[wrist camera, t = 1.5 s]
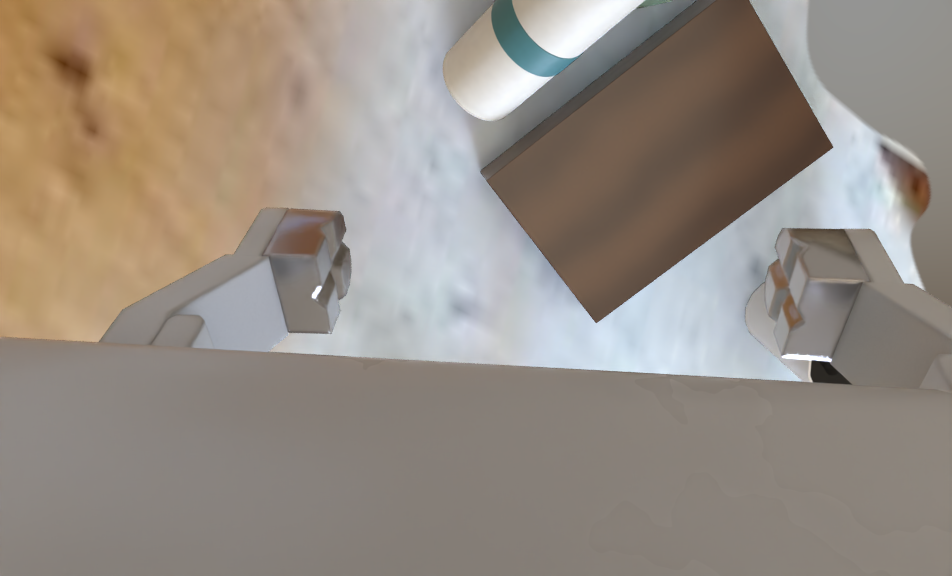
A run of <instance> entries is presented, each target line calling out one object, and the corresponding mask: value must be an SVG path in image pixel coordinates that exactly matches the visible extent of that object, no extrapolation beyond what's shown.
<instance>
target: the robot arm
mask: <svg viewBox="0 0 952 576" xmlns="http://www.w3.org/2000/svg"><path fill="white" fill-rule="evenodd" d="M345 232H346V227H345V222H344V217H343V215H342V213H341V212H340V211H328V210H310V209H293V208H291V209H289V208H267V207H266V208H263V209H261V210H260V212H259V213H258V215H257V217H256V218H255V220H254V222H253V223H252V225H251V226H250V228H249V230H248V231H247V233H246V235H245V236H244V238H243V240H242V241H241V243H240V244H239V246H238V248H237V249H236V251H235V253H234V254H233V255H224V256H222V257H220V258H218V259H217V260H215V261H213V262H211V263H209V264H207V265H205V266H203V267H202V268H200V269H198V270H196V271H194V272H192V273H190V274H188V275H187V276H185V277H183V278H181V279H179V280H177V281H175V282H173V283H172V284H170V285H168V286H166V287H164V288H162V289H160V290H158V291H156V292H155V293H153V294H151V295H149V296H147V297H145V298H143V299H141V300H140V301H138V302H136V303H134V304H132V305H130V306H128V307H126V308H125V309H123V310H122V311H121V312H120V314H119V315H118V316H117V318H116V319H115V320H114V322H113V323H112V324H111V326H110V327H109V329H108V330H107V331H106V333H105V334H104V335H103V337H102V338H101V339H100V341H99V342H84V341H66V340H48V339H30V338H12V337H0V576H952V307H951V306H949V305H948V304H946V303H944V302H943V301H941V300H939V299H938V298H936V297H934V296H932V295H931V294H929V293H927V292H926V291H924V290H922V289H921V288H919V287H917V286H915V285H914V284H904V282H903V281H902V279H901V277H900V275H899V274H898V272H897V270H896V268H895V267H894V265H893V263H892V261H891V260H890V258H889V256H888V254H887V253H886V251H885V249H884V247H883V246H882V244H881V242H880V240H879V239H878V237H877V235H876V233H875V232H874V231H872V230H871V229H802V228H782V229H781V231H780V233H779V235H778V237H777V241H776V244H775V249H776V252H777V255H778V258H779V259H777V260H776V261H775V262H774V263H772V264H771V265H770V266H769V268H768V272H767V276H766V279H765V289H764V300H765V307H766V310H767V314H768V316H769V317H770V318H772V319H773V320H774V321H776V325H775V328H774V331H773V333H774V336H775V339H776V343H777V346H778V349H779V352H780V355H781V358H791V359H804V360H817V361H830V364H831V365H832V366H833V367H834V368H835V369H836V370H837V371H838V372H840V373H841V374H842V375H843V376H844V377H845V378H846V379H847V380H848V381H849V382H850V383H851V384H852V385H850V384H833V383H815V382H797V381H779V380H761V379H743V378H725V377H707V376H689V375H671V374H654V373H636V372H618V371H600V370H582V369H564V368H547V367H529V366H511V365H493V364H475V363H457V362H440V361H422V360H404V359H386V358H368V357H351V356H333V355H315V354H297V353H279V352H269V351H270V350H271V349H272V348H273V347H274V346H276V345H277V344H278V343H279V342H280V341H282V340H283V339H284V338H285V337H286V336H288V333H321V334H332V331H333V329H334V326H335V323H336V321H337V318H338V315H339V313H340V306H339V300H340V299H342V298H343V297H344V296H346V294H347V291H348V288H349V286H350V279H351V256H350V249H349V248H348V247H347V246H346V245H345V244H344V243H343V242H342V239H343V237H344V234H345Z"/></svg>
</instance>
